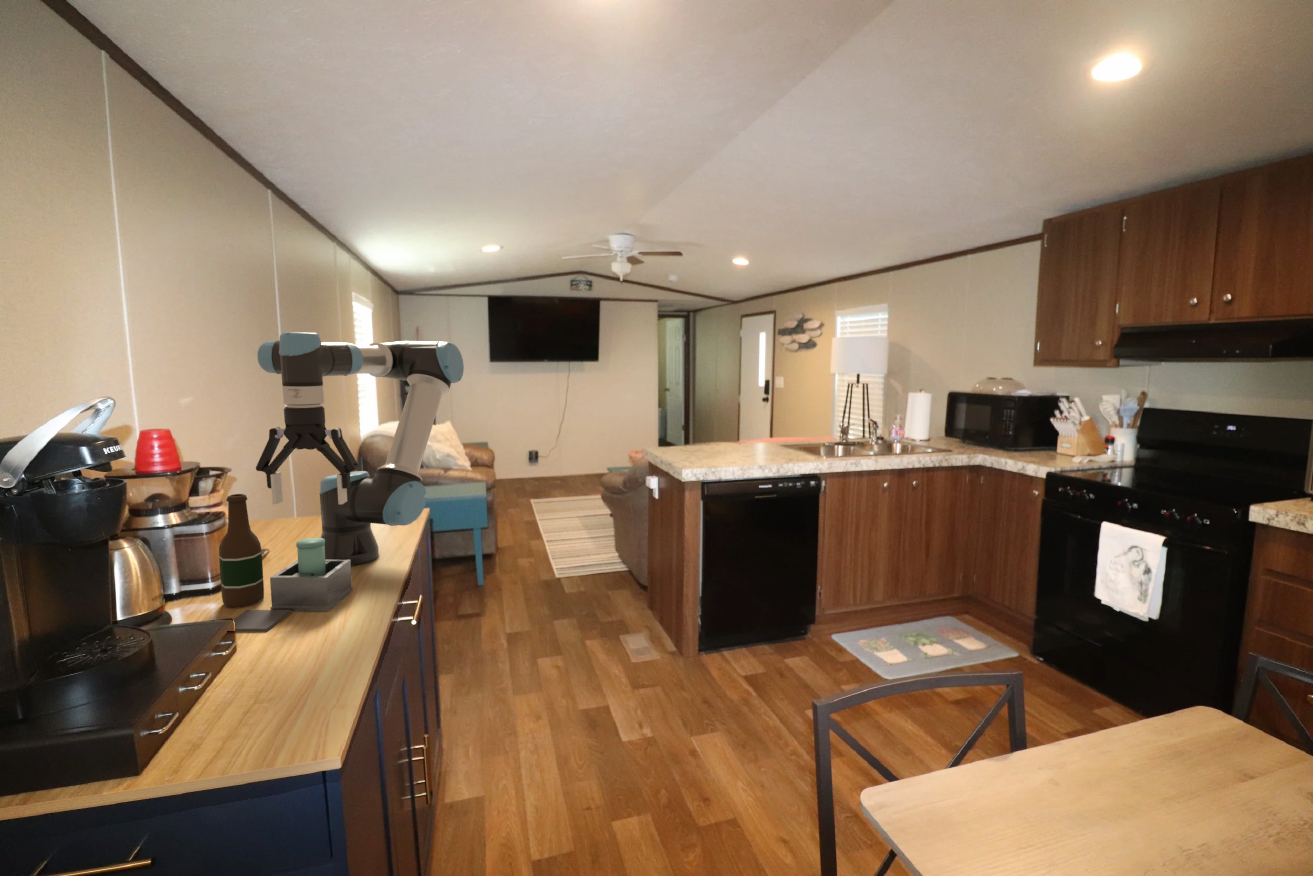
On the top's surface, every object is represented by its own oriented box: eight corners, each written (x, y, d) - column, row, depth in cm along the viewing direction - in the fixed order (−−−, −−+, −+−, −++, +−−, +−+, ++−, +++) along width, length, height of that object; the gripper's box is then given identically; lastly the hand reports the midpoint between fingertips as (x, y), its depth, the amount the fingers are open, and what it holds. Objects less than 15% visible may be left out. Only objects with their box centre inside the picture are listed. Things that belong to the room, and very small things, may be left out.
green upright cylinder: (309, 578, 140) (307, 535, 138) (334, 578, 140) (332, 535, 139) (289, 592, 131) (287, 547, 130) (316, 592, 131) (313, 547, 130)
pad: (247, 612, 129) (246, 609, 129) (291, 612, 129) (291, 609, 129) (219, 631, 120) (219, 628, 120) (266, 631, 121) (266, 628, 120)
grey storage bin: (299, 590, 142) (298, 559, 141) (353, 590, 142) (351, 559, 141) (270, 611, 130) (268, 577, 129) (328, 611, 130) (327, 578, 129)
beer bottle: (273, 598, 137) (266, 493, 134) (239, 611, 130) (232, 500, 126) (247, 592, 139) (241, 489, 136) (213, 605, 132) (205, 497, 129)
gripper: (231, 406, 125) (239, 507, 128) (357, 408, 127) (363, 507, 130) (252, 403, 132) (260, 498, 135) (371, 404, 134) (376, 498, 137)
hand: (310, 503), depth 133 cm, fingers open, 13 cm apart
